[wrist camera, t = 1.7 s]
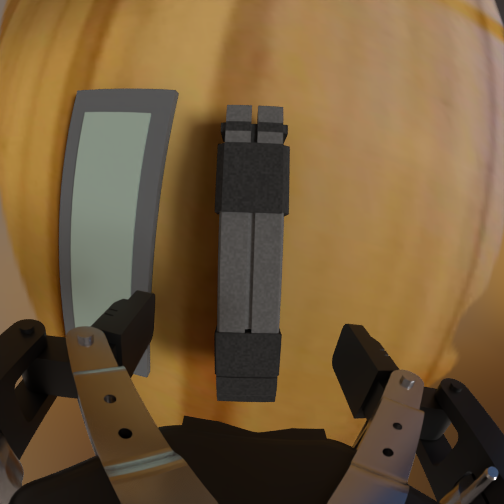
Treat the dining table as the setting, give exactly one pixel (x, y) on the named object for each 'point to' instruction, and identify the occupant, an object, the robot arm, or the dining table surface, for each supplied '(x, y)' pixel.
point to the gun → (250, 252)
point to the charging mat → (111, 200)
